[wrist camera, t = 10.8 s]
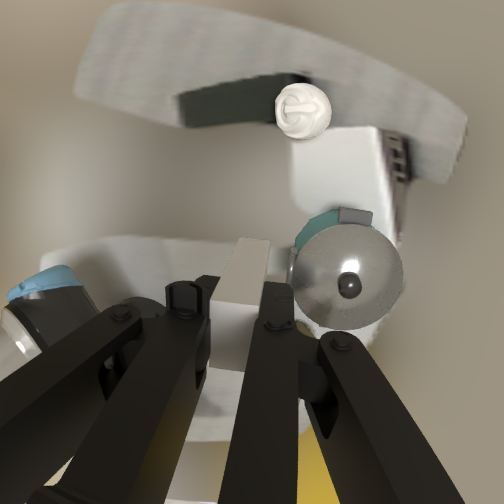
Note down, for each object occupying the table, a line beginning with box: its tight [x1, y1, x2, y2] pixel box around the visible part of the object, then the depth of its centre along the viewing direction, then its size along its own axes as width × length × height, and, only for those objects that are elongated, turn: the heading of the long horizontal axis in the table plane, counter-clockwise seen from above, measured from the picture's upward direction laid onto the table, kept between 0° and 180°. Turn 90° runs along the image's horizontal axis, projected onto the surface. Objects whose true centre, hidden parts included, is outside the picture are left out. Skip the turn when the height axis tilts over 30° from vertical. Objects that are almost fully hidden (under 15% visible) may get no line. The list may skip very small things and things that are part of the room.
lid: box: [286, 224, 403, 330], centre depth 38 cm, size 15×16×3 cm
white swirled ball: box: [275, 83, 331, 140], centre depth 39 cm, size 8×8×8 cm
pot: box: [290, 207, 376, 327], centre depth 45 cm, size 18×15×9 cm
